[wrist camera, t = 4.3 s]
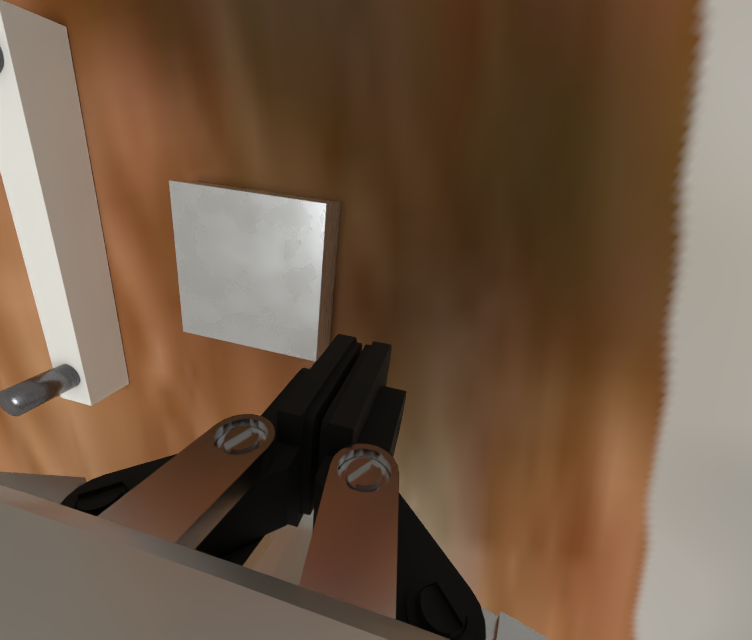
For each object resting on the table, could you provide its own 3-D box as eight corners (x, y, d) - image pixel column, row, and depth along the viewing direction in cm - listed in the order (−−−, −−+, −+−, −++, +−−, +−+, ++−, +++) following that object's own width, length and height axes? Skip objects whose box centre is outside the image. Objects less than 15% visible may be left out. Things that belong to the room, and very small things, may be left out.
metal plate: (342, 202, 22) (326, 203, 19) (331, 343, 26) (315, 361, 23) (202, 181, 23) (168, 180, 21) (211, 317, 27) (183, 331, 24)
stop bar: (66, 26, 21) (-120, -51, 15) (129, 383, 31) (36, 438, 24) (27, 24, 22) (-170, -52, 15) (101, 376, 32) (2, 428, 25)
